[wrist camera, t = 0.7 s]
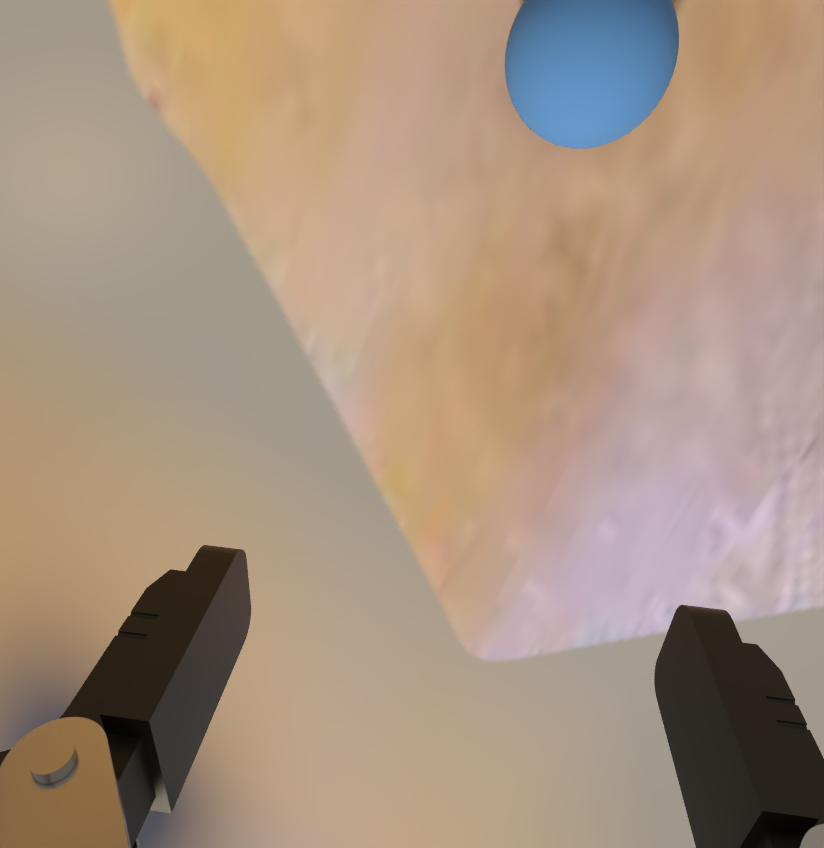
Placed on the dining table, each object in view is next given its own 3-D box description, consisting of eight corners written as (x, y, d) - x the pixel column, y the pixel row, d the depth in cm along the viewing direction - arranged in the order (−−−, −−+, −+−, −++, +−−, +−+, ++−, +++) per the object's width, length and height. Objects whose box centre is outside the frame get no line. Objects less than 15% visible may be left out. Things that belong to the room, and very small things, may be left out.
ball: (512, -38, 24) (519, -61, 19) (673, -33, 23) (725, -55, 18) (495, 134, 27) (497, 154, 22) (637, 142, 27) (673, 164, 21)
